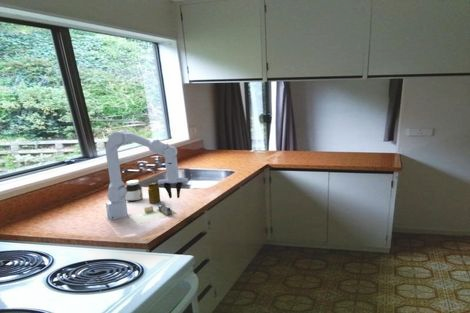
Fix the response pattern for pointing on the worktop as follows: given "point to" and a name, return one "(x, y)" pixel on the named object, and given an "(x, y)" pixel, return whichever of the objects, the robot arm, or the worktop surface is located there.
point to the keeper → (148, 209)
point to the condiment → (153, 193)
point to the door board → (149, 216)
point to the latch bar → (165, 209)
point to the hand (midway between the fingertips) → (174, 197)
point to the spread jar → (133, 191)
